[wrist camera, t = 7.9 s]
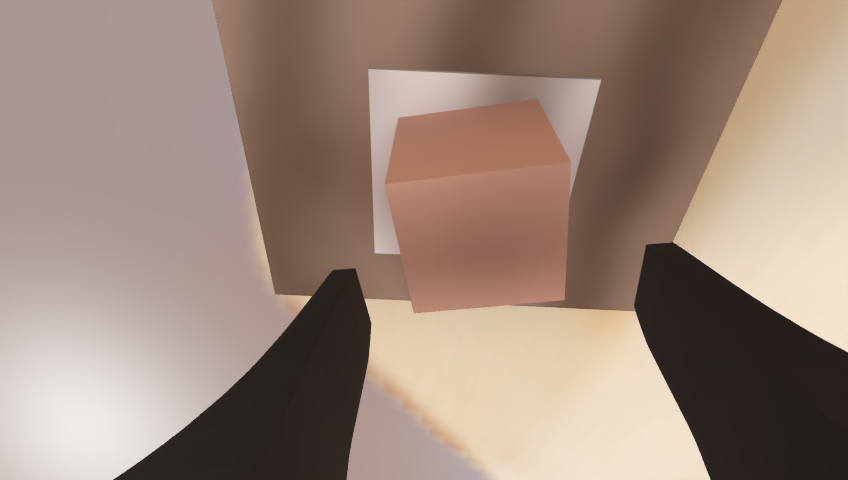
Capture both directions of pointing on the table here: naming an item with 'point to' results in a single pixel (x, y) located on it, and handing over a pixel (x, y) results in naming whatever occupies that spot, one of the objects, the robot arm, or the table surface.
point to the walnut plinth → (474, 87)
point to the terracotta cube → (480, 206)
